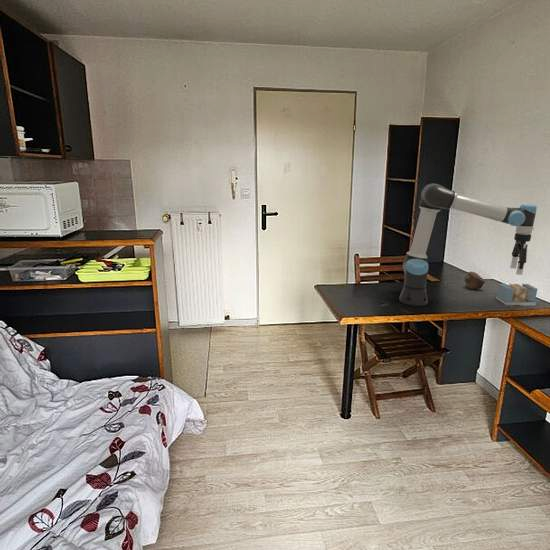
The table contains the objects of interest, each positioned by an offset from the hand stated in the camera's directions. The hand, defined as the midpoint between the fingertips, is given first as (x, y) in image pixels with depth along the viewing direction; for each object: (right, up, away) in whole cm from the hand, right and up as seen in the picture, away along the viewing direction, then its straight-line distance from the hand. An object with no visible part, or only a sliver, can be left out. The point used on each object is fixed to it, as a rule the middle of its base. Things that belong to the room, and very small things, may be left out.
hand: (515, 271), depth 221 cm
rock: (-10, -11, +29) cm, 32 cm away
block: (+2, -16, +4) cm, 17 cm away
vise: (+2, -17, +5) cm, 18 cm away
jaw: (-4, -16, +4) cm, 17 cm away
